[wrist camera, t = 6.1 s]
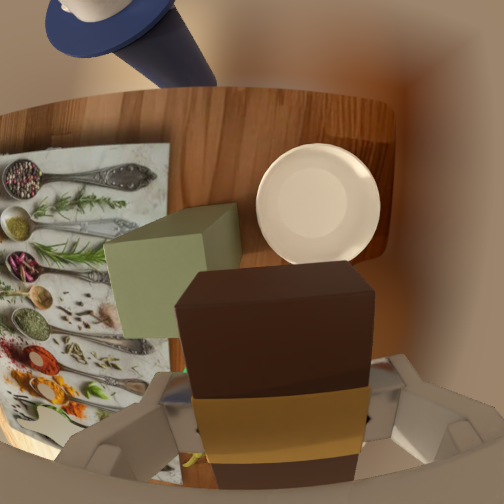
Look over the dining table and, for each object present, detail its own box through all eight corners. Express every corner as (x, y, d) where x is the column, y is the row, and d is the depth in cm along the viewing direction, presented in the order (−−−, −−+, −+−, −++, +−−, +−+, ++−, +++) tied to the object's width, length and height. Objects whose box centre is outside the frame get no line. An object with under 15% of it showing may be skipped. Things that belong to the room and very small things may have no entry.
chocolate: (196, 270, 9) (169, 307, 6) (348, 258, 8) (379, 291, 6) (228, 451, 10) (220, 505, 8) (340, 443, 10) (352, 496, 7)
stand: (184, 208, 48) (102, 243, 23) (236, 202, 48) (202, 232, 22) (191, 259, 50) (124, 338, 25) (242, 255, 49) (217, 336, 24)
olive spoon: (217, 451, 55) (209, 431, 59) (197, 452, 53) (190, 431, 56) (187, 472, 60) (181, 454, 64) (169, 473, 57) (164, 454, 61)
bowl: (381, 185, 46) (402, 187, 38) (328, 273, 49) (338, 291, 42) (292, 128, 45) (296, 119, 37) (237, 221, 48) (232, 230, 41)
